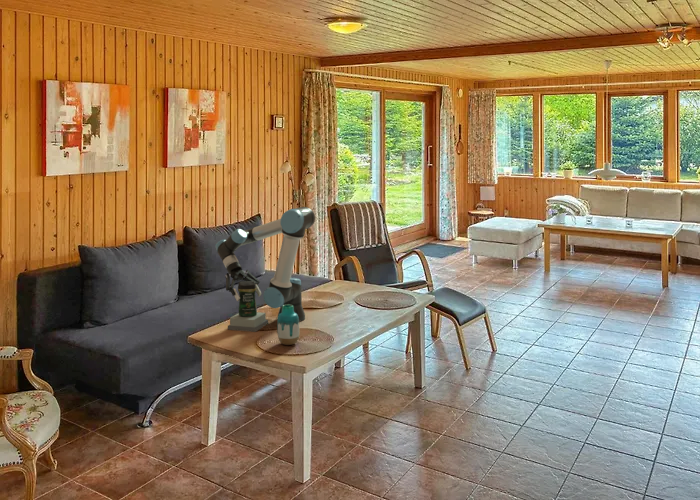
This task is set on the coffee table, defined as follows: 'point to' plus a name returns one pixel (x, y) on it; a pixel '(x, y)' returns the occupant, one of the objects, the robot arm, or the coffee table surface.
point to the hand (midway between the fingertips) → (249, 297)
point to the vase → (288, 325)
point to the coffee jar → (247, 298)
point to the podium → (248, 322)
